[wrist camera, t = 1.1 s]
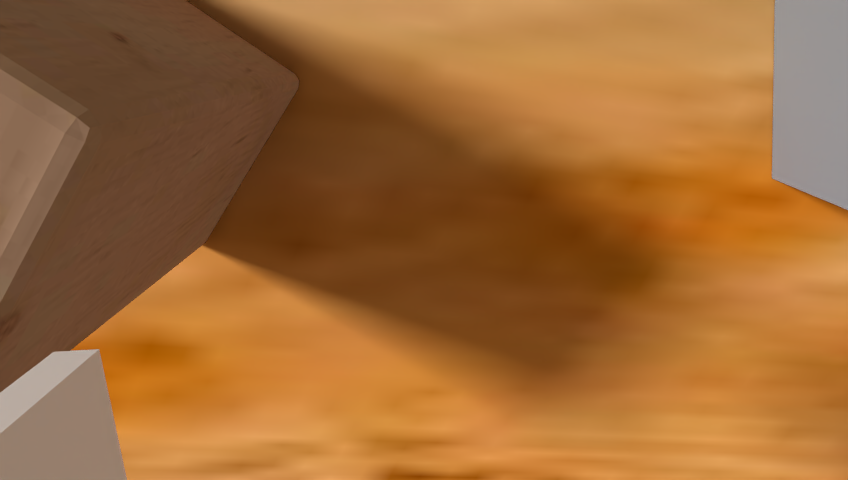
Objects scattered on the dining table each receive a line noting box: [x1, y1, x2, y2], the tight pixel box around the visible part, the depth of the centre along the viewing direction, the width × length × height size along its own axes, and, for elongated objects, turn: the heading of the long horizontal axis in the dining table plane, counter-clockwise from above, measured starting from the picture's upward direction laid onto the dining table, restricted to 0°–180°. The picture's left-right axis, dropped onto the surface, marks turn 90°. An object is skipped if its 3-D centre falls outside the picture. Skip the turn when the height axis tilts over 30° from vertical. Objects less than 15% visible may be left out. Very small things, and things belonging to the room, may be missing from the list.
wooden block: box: [0, 0, 299, 392], centre depth 24 cm, size 10×10×20 cm
